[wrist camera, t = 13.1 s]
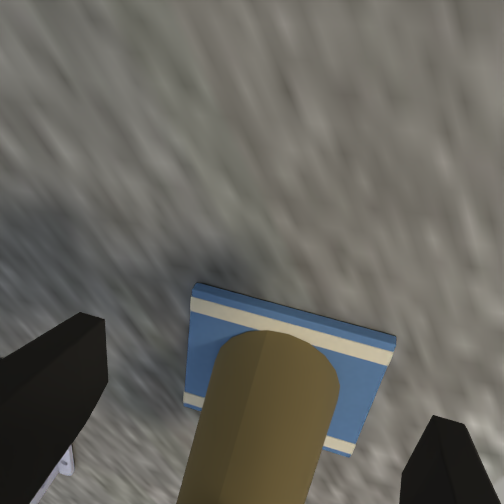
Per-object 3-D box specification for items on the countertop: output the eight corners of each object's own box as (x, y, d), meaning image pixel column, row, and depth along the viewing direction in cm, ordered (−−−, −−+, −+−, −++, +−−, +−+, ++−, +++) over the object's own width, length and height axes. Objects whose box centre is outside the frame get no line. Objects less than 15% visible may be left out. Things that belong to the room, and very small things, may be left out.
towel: (350, 448, 25) (349, 459, 24) (187, 397, 26) (182, 406, 25) (396, 335, 20) (396, 346, 20) (196, 281, 21) (191, 289, 21)
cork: (321, 439, 24) (273, 734, 15) (207, 400, 25) (95, 658, 16) (356, 355, 20) (321, 671, 11) (223, 313, 21) (91, 579, 12)
